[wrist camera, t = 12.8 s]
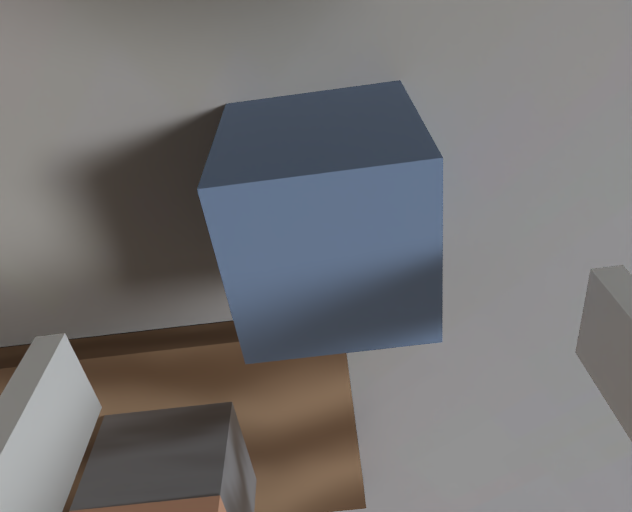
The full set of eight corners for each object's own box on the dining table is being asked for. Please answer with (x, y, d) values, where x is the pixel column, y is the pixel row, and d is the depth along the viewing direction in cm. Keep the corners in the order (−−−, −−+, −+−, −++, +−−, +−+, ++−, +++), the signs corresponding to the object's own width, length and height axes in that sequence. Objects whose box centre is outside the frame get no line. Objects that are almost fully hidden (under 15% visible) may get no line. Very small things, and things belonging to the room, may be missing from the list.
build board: (-31, 351, 26) (-115, 470, 21) (340, 308, 25) (351, 420, 20) (77, 513, 34) (35, 630, 29) (363, 485, 33) (376, 600, 28)
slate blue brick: (226, 103, 20) (197, 189, 14) (399, 79, 20) (442, 157, 14) (258, 248, 24) (245, 364, 18) (405, 229, 23) (442, 342, 17)
